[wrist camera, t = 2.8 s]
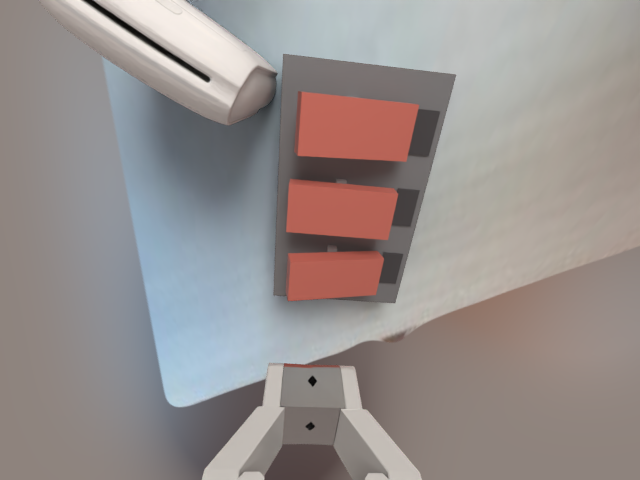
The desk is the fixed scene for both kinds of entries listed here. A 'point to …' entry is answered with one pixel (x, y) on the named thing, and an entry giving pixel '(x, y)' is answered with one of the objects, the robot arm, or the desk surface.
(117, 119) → the desk surface
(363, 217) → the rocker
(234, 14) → the desk surface
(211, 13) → the desk surface
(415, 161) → the rocker switch panel
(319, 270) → the block
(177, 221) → the desk surface
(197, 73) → the photo printer
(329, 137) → the block
